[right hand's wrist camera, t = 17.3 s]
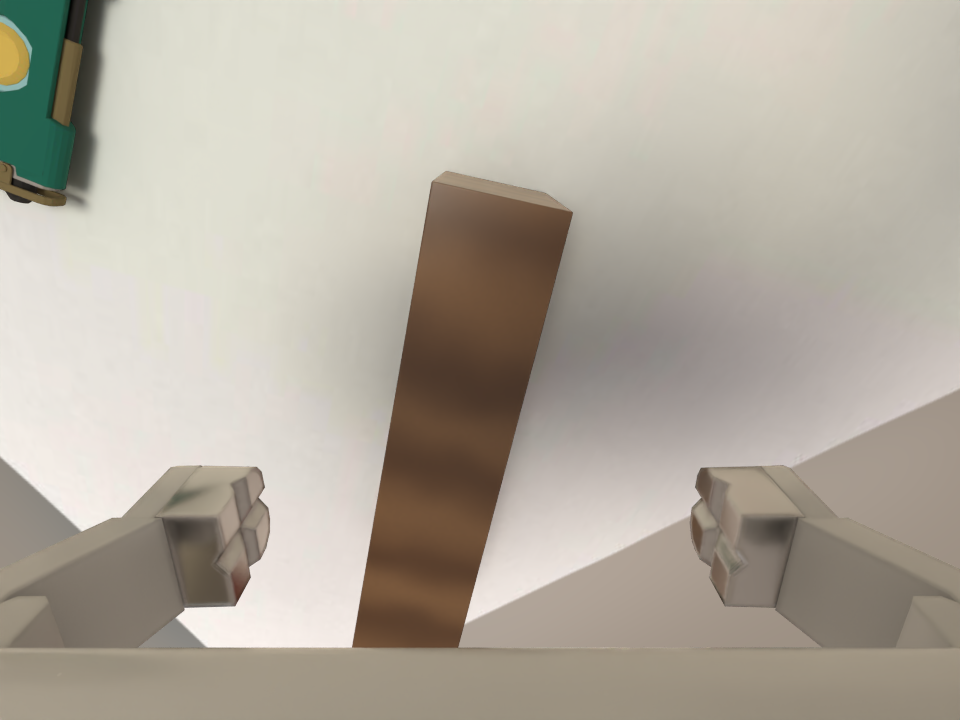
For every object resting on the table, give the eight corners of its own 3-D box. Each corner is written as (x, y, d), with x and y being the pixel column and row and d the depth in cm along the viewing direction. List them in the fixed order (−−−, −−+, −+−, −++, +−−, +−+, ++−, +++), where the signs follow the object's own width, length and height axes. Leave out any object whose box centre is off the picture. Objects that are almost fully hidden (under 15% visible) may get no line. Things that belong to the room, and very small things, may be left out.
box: (445, 170, 32) (431, 181, 23) (546, 193, 32) (573, 212, 23) (380, 538, 41) (351, 651, 32) (458, 551, 42) (453, 666, 32)
